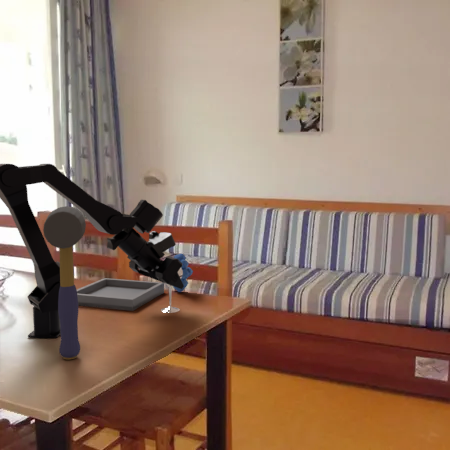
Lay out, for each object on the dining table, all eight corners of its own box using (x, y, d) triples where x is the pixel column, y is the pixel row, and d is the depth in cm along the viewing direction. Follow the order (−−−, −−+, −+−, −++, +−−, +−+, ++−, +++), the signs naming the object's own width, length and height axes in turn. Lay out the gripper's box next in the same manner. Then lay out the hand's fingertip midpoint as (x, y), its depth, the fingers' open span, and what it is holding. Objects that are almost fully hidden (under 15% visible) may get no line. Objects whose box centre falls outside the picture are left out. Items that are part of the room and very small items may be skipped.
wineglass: (171, 304, 139) (171, 261, 137) (188, 309, 134) (188, 265, 132) (152, 309, 134) (151, 265, 132) (168, 315, 129) (168, 268, 128)
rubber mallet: (53, 348, 106) (48, 204, 102) (90, 345, 107) (86, 204, 104) (46, 372, 94) (39, 210, 90) (88, 368, 95) (83, 209, 92)
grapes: (200, 295, 149) (200, 254, 147) (178, 297, 146) (177, 256, 145) (186, 286, 159) (186, 248, 158) (166, 288, 157) (165, 250, 155)
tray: (132, 310, 133) (132, 299, 132) (66, 304, 139) (66, 293, 138) (164, 292, 152) (164, 282, 151) (104, 287, 158) (104, 278, 157)
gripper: (175, 226, 121) (212, 266, 129) (138, 219, 136) (174, 255, 144) (146, 262, 117) (186, 301, 125) (112, 251, 132) (150, 286, 140)
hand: (174, 284), depth 134 cm, fingers open, 8 cm apart
